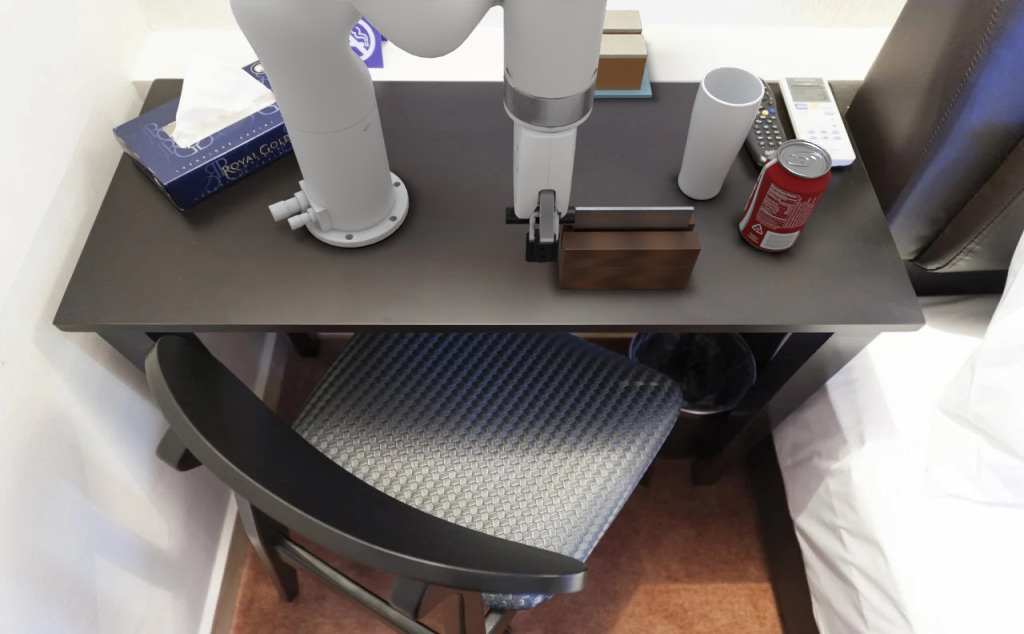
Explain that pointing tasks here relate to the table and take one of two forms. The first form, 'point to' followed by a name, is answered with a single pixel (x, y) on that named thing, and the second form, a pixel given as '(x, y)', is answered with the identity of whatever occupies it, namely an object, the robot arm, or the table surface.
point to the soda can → (785, 195)
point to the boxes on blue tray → (622, 57)
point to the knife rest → (626, 259)
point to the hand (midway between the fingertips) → (539, 228)
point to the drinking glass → (718, 128)
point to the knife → (618, 219)
